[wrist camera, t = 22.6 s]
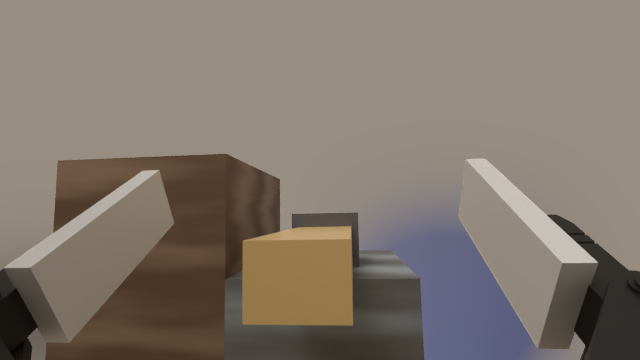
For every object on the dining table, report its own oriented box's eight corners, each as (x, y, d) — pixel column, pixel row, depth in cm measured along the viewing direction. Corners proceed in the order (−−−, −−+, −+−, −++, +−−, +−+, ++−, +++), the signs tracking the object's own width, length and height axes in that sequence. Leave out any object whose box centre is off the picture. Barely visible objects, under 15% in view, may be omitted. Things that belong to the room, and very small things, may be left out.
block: (367, 325, 12) (363, 211, 12) (229, 324, 12) (229, 213, 13) (358, 258, 29) (356, 213, 30) (302, 258, 30) (301, 214, 30)
